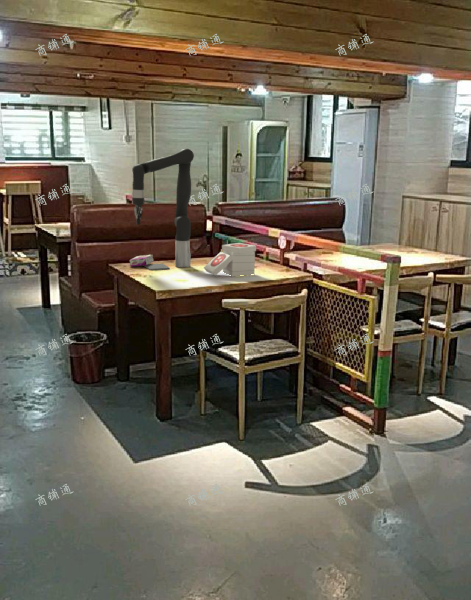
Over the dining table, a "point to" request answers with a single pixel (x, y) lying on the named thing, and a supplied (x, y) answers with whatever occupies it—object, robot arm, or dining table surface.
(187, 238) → the robot arm
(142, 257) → the candy bar box
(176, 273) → the dining table surface
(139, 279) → the dining table surface
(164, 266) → the mat
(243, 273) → the stack of white boxes
